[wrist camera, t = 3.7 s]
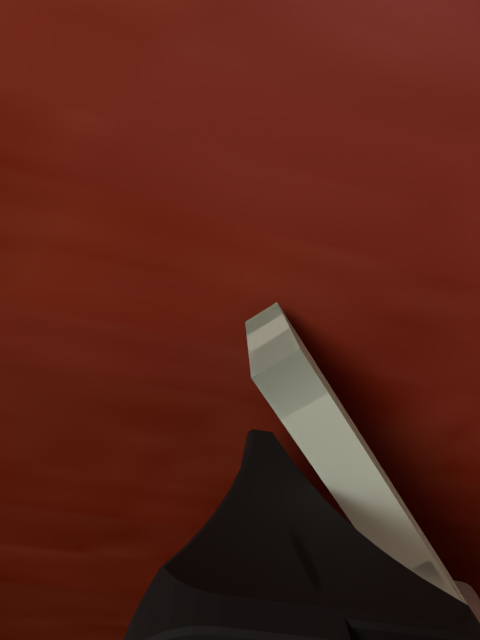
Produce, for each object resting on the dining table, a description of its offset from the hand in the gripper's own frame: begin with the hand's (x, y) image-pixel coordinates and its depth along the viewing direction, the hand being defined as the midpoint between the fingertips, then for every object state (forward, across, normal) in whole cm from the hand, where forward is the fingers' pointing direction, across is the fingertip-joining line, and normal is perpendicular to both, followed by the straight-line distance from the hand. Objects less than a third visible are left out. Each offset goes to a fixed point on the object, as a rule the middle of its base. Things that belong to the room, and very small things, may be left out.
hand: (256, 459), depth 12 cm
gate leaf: (+2, -4, +1) cm, 5 cm away
